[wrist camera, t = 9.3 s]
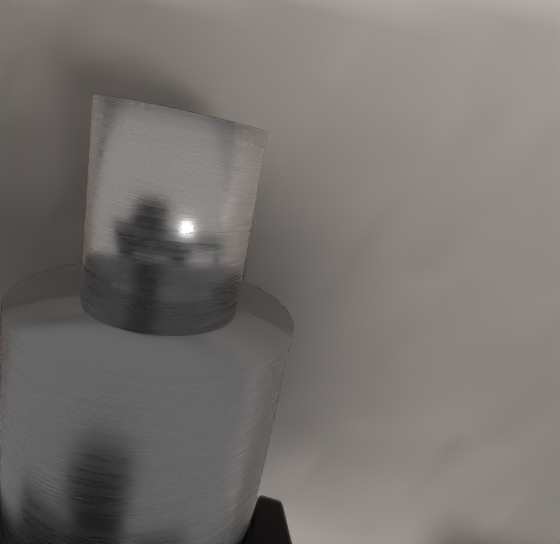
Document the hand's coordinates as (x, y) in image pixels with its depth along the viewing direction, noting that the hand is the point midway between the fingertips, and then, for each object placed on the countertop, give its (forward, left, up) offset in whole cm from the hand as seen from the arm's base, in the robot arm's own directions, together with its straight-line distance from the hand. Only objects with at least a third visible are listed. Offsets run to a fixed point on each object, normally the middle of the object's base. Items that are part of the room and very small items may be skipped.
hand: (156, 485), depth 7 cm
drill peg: (0, +1, -1) cm, 1 cm away
